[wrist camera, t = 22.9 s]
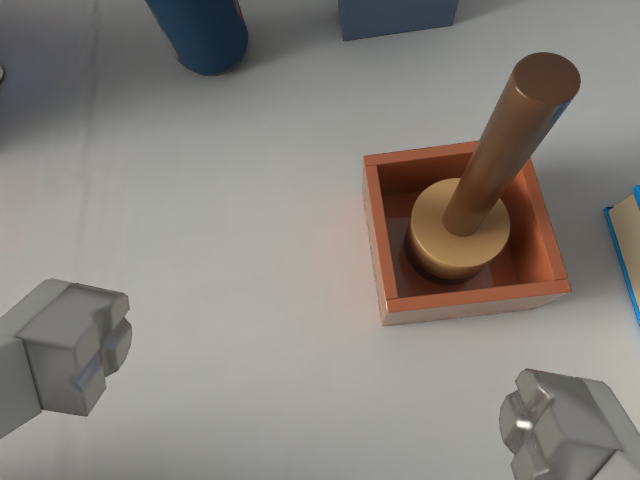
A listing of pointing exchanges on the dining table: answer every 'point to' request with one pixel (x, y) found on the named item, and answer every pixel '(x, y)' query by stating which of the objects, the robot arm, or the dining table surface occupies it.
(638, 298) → the book
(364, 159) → the caddy
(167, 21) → the soda can
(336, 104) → the dining table surface
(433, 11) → the stand
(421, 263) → the brush
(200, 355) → the dining table surface
